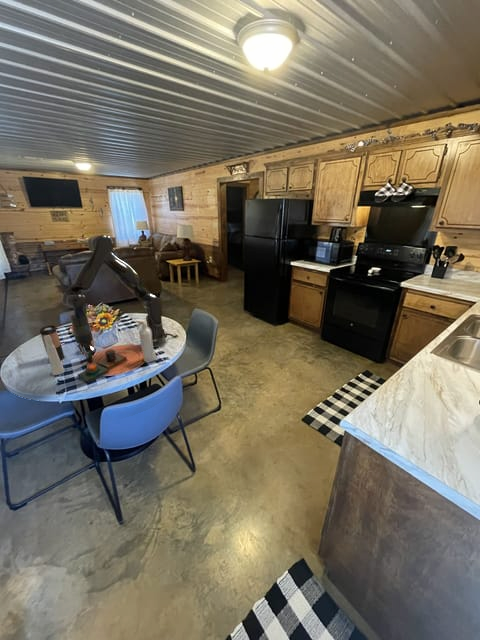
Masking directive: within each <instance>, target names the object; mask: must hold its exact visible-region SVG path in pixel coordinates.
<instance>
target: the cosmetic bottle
mask: <svg viewBox="0 0 480 640" xmlns="http://www.w3.org/2000/svg"><path fill="white" fill-rule="evenodd" d="M44 337H45V338H44V340H45V343H46V349H45V351H46V350H47V352H46V354H47V357H48V360H49V365H50V370H51V371H50V372H51V375H52V376H59V375H62V374H63V373H65V372H66V370H65V368H64V366H63V363H62V362H61V361H62V360H61V361H60V359H59V356H58V353H57V351H56V348H55V346H54V345H53V343H52V340H51V337H50V335H45V336H44Z"/></svg>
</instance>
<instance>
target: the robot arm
mask: <svg viewBox="0 0 480 640" xmlns="http://www.w3.org/2000/svg"><path fill="white" fill-rule="evenodd" d="M87 247H88V249H89V250H90V252H91V253H92V254H91V255H90V257H89V258H88V260H87V261H86V262H85V263H84V265H82V267H81V268H80V270H79V271H78V274H77V275H76V277H75V279H74V281H73V283H72V284H71V285H70V286H69V287H68V288H67V290H66V291H65V292H64V293H63V295H62V297H61V298H62V299H61V302H62V304H63V306H64V307H66V308H71V309H73V312H72V313H70V315H69V319H70V323H71V327H72V331H73V332H72V333H73V336H74V340H75V343H76V346H77V348H78V349H79V351H80V352H81V354H82V355H83V356H84V357H85V360H86V362H87V363H88V364H89V365H91V364H92V363H94V360H93V356H95V354H96V351H97V348H95V347H94V348H93V347H92V344H91V341H92V340H93V341H94V336H93V332H92V328H91V325H90V322H89V319H88V300H87V298H86V296H85V295H83V293H86V292H88V291H89V290H90V289H91V287H92V285H93V282H94V280H95V278H96V276H97V274H98V272H99V271H100V269H101V267H102V266H103V264H104V265H105V266H106V267H107V268H108V269H109V270H110V271H111V272H112V273H113V275H114V276H115V277H117V279H118V280H119V282H121V283H122V284H123V285H124V286H125V287H126V288H127V289H128V290H129V291H130V292H131V293H132V294H133V295H134V296H135V297H136V298H137V300H138V301H139V302H140V303H141V305H142V306H143V308H145V309H146V311H147V315H146V316H145V320H146V322H147V324H146V326H148V327H149V328H151V331H152V342H153V348H161V347H163V346H164V345H165V344H166V343H167V341H166V339H167V338H168V336H171V337H173V338H177V337H178V334H175V335H173V334H172V333H167V332H165V329H164V326H163V318H162V317H163V305H162V301H161V299H160V297H158V296H156V295H155V294H152V293H151V292H150V291H149V290H148V289H147V288H146V287H145V285H144V284H143V282H142V280H141V278H140V276H139V275H138V273H137V272H136V271H135V270H134V269H133V268H132V267H131V266H130V265H129V264H128V263H126V262H125V261H123V260H121V259H120V258H118V257H117V256H116V255H114V253H113V252H112V251H113V250H114V247H115V246H114V241H113V239H112V238H111V237H110V236H108V235H106V234H98V235H95V236H92V237H89V239H88V240H87ZM149 328H148V329H149Z"/></svg>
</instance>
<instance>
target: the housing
mask: <svg viewBox="0 0 480 640" xmlns="http://www.w3.org/2000/svg"><path fill="white" fill-rule="evenodd" d="M94 365H95V366H96V369H95V370H93V371H88V367H86V368H85V369H84V371H82V372H80V373H78V374H77V378H78V379H80V380H81V381H84V382H86V383H88V384H90V383H91V382H94V381H95V380H97V379H99V378H101V377H103V376H104V375H106V374H108V373H109V371H108V369H106V368H104V367H102V366H100V365H97V364H94Z"/></svg>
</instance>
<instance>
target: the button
mask: <svg viewBox="0 0 480 640" xmlns="http://www.w3.org/2000/svg"><path fill="white" fill-rule="evenodd" d="M95 365H96V364H89V366H87V368H88V371H93V370H95V369H96V366H95Z"/></svg>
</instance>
